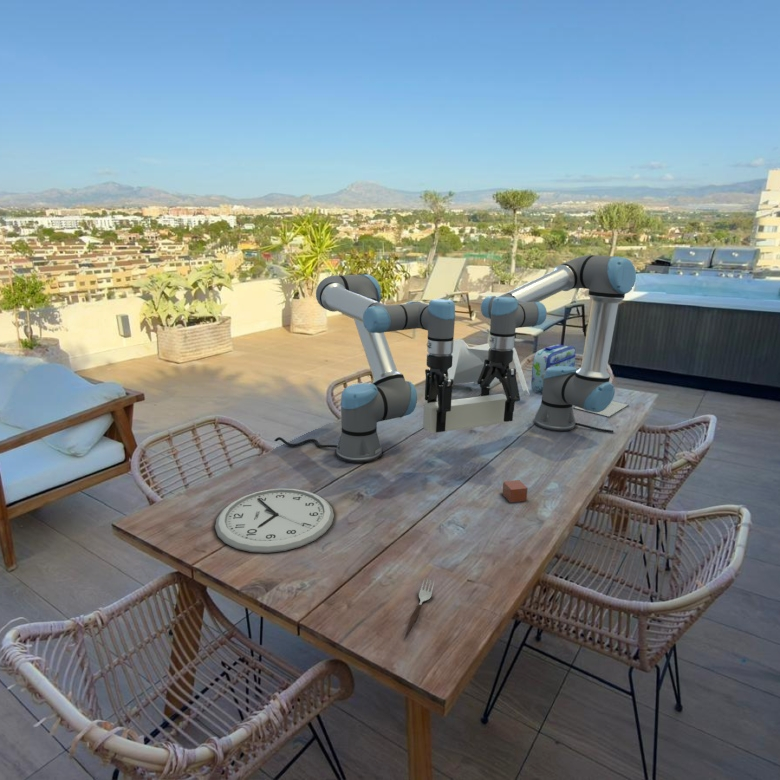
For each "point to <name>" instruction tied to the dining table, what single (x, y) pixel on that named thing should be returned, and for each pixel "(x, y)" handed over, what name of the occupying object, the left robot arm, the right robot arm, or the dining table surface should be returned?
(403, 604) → the dining table surface
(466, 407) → the beam
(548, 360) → the lunch box
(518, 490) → the terracotta block
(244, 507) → the wall clock
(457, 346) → the white plastic object
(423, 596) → the fork
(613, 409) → the invitation card
